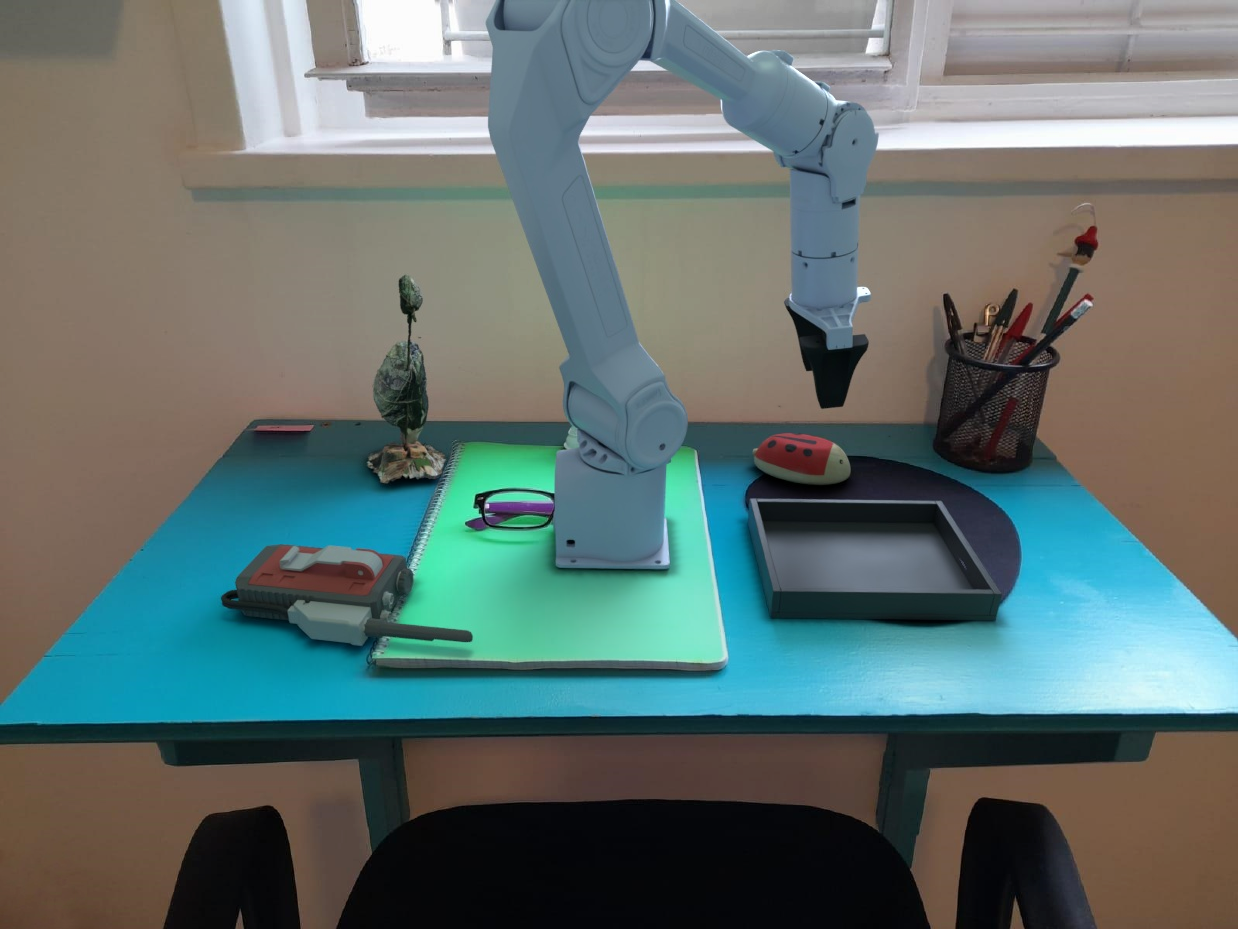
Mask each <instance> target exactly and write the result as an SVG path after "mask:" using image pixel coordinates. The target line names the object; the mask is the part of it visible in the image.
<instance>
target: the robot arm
mask: <svg viewBox="0 0 1238 929" xmlns="http://www.w3.org/2000/svg"><path fill="white" fill-rule="evenodd" d="M485 27H486V30H487V34H488V36H489V39H490V42H491V47H492V54H491V55H492V56H491V70H490V84H489V98H488V111H487V112H488V113H487V129H488V134H489V138H490V142H491V144H492V147H493V150H494V152H495V155H496V158H497V161H498V164H499V167H500V169H501V173H502V175H503V177H504V180H505V183H506V185H507V188H508V191H509V193H510V197H511V198H512V202H513V205H514V207H515V210H516V213H517V215H518V219H519V221H520V224H521V226H522V230H523V232H524V235H525V238H526V240H527V243H528V246H529V249H530V252H531V255H532V257H533V260H534V262H535V265H536V268H537V271H538V273H539V276H540V279H541V282H542V284H543V287H544V290H545V293H546V295H547V298H548V301H549V304H550V306H551V309H552V312H553V314H554V318H555V321H556V324H557V326H558V328H559V332H560V335H561V337H562V339H563V340H562V341H563V342H564V345H565V348H566V350H567V354H568V355H567V356H566V357H565V358H564V359H563V361H561V363H560V365H559V367H558V368H559V371H560V374H561V377H562V381H563V393H562V394H563V395H562V408H563V414H564V416H565V418H566V419H567V421H568V423H569V422H570V423H571V424H572V425H573V426H574V427H576V428H577V442H578V443H579V447H577V448H572V449H566V448H565V449H559V450H557V451H556V454H555V464H554V492H553V493H554V494H553V495H554V497H553V498H554V511H553V516H552V517H553V518H552V523H553V524H552V528H553V529H552V530H553V532H554V534H555V535H554V536H555V566H556V567H557V568H559V569H610V570H611V569H613V570H614V569H618V570H621V569H622V570H624V569H625V570H668V569H670V566H671V558H670V545H669V532H668V518H666V517H665V516H666V493H667V492H666V490H667V485H666V484H667V467H668V466H667V465H669V464H670V463H672V458H673V457H675V455H676V454H677V453H678V451H680V448H681V447H682V445H683V443H684V441H685V438H686V435H687V433H688V426H689V416H688V411H687V409H686V405H685V404H684V403H683V401H682V400H681V399H680V398H678V397H677V395H675V394H674V393H673V392H672V391H671V389H670V387H669V384H668V380H667V378H666V375H665V373H664V372H663V370H662V369H661V368H660V367H659V365H658V364H657V362H656V361H655V360H654V359H653V358H652V357H651V355H650V354H649V353H648V352H647V350H645V348H644V347H643V346H642V344H641V342H640V341H639V337H638V334H637V331H636V328H635V323H634V321H633V317H632V315H631V314H632V313H631V310H630V307H629V304H628V301H627V298H626V294H625V291H624V287H623V285H622V284H623V283H622V281H621V278H620V275H619V271H618V267H617V264H616V261H615V258H614V254H613V251H612V248H611V245H610V242H609V238H608V234H607V232H606V228H605V225H604V222H603V218H602V215H601V212H600V208H599V204H598V201H597V198H596V195H595V191H594V189H593V188H594V187H593V185H592V182H591V178H590V174H589V172H588V168H587V165H586V161H585V159H584V158H585V157H584V156H583V152H582V149H581V145H580V136H581V134H582V132H583V130H584V129H585V126H586V125H587V123H588V121H589V119H590V118H591V116H592V115H593V114H594V112H595V111H597V109H598V108H599V107H600V106H601V105H602V104H603V102H604V101H605V100H606V99H607V98H608V96H610V94H612V92H613V91H614V90H615V89H616V88H617V86H618V85H619V84H621V82H622V81H623V80H624V79H625V78H626V77H627V75H628V74H630V72H631V71H632V70H633V69H634V67H635V66H636V65H637V64H638V63H639V61H645V62H651V63H653V64H654V65H656V66H658V67H660V68H662V69H664V70H665V71H667V72H669V73H671V74H672V75H675V76H677V77H678V78H680V79H682V80H683V81H686V82H687V83H689V84H692V85H693V86H695V87H696V88H699V89H700V90H703V91H704V92H706V93H707V94H709V95H712V96H714V97H715V98H717V99H719V100H720V108H721V114H722V117H723V119H724V121H725V123H726V124H727V125H729V126H730V127H732V128H733V129H735V130H737V131H738V132H740V133H742V134H743V135H745V136H746V137H748V138H750V139H752V140H754V141H755V142H756V143H759V144H760V145H762V146H763V147H765V148H767V149H768V150H770V151H772V152H773V156H774V158H775V161H776V162H777V164H778V165H779V167H780V168H787V169H789V221H790V223H789V224H790V226H789V227H790V287H791V288H790V289H791V291H790V294H789V297H787V298H785V299H784V300H783V304H784V306H785V309H786V310H787V312H788V314H789V316H790V318H791V319H792V322H793V325H794V327H795V331H796V336H797V341H798V345H799V351H800V356H801V359H802V363H803V367H804V369H805V371H806V372H812V376H813V381H814V382H813V384H814V389H815V395H816V399H817V401H818V405H819V407H820V409H822V410H824V409H833V408H834V409H835V408H842V407H844V405H845V402H846V400H847V396H848V394H849V393H848V392H849V390H850V386H851V382H852V378H853V375H854V373H855V370H856V368H857V366H858V364H859V362H860V361H861V359H862V357H863V356H864V355H865V354H866V352H867V351H868V348H869V343H870V341H869V339H868V336H867V335H866V333H862V334H854V325H853V321H854V318H855V316H856V313H857V310H858V307H859V305H860V304H862V303H868V302H870V301H872V300H871V299H872V298H871V297H872V293H871V291H870V289H869V288H868V287H867V286H858V275H859V242H860V240H859V239H860V236H859V235H860V206H861V205H860V203H861V196H862V195H863V194H864V191H865V188H866V187H867V175H868V170H869V167H870V164H871V163H872V160H873V159H874V157H875V155H876V151H877V147H878V143H879V136H880V135H879V134H880V133H879V132H877V131H876V130H875V129H876V128H875V124H874V122H873V119H872V116H870V115H869V113H868V112H867V110H866V108H864V106H863V105H861V104H860V103H858V102H853V101H845V100H836V98H835V96H833V94H832V93H830V91H831V86H830V85H829V84H827V83H826V82H824V81H820V80H811V79H810V78H809V77H807V76H806V75H805V74H803V73H802V72H800V71H799V70H798V69H797V68H794V67H793V63H794V61H795V58H794V56H793V55H792V54H790V53H789V52H787V51H786V50H780V49H779V50H777V49H772V50H770V51H768V50H760V51H759V50H758V51H755V52H753V53H751V54H749V55H746V54H745V53H743V52H742V51H741V50H739V49H738V48H736V46H734V45H733V44H732V43H731V42H729V41H728V40H727V39H726V38H724V37H723V36H722V35H721V34H719V33H718V31H715V30H714V29H713V28H712V27H711V26H709V25H708V24H706V23H705V22H704V21H703V20H702V19H701V18H699V17H698V16H696V15H695V14H694V13H693V12H692V11H690V10H689V9H688V8H686V7H685V6H684V5H683V4H682V3H680V1H677V0H495V1H494V3H493V5H492V7H491V10H489V14H488V15H487V18H486V20H485ZM570 423H569V424H570ZM571 424H570V425H571ZM572 425H571V426H572Z"/></svg>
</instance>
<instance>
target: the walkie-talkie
mask: <svg viewBox="0 0 1238 929" xmlns="http://www.w3.org/2000/svg"><path fill="white" fill-rule="evenodd" d="M234 584H235V589H230V590H228V591H226V592H224V593H223V594H222V595H221V597H220V601H221V605H222V607H224V608H226V609H229V610H237V611H241V612H242V613H243V615H244V617H253V618H263V619H272V620H281V621H288V622H289V624H296V625H297V626H298V628H299V629H301V631H303V632H304V633H305V634H306V635H307V636H308V637H309V638H310V639H311V640H319V641H326V642H336V643H346V644H351V645H352V646H358V647H359V646H360V647H363V645H364V644H365V642H366V641H367V640H368V638H379V639H382V638H383V637H386V638H387V637H388V638H396V639H406V640H416V641H424V642H425V641H426V642H434V640H438V641H447V642H455V643H456V642H458V643H472V642H473V639H474V635H473V633H472V631H470V630H467V629H458V628H457V629H456V628H449V627H448V628H447V627H438V626H428V625H419V624H418V625H417V624H407V623H400V622H399V623H398V622H391V621H392V610H393V609H394V607H395V605H396V604H397V602H398V601H399V599H400V598H401V596H408V595H409V594H410V593H411V592H412V590H413V586H414V572H413V571H412V569H411V568H408V566H407V557H406V556H404V555H402V554H391V553H382V552H381V553H380V552H378V551H376V550H374V549H370V548H360V547H357V548H356V549H353V548H352V547H350V546H349V547H348V546H338V545H330V544H329V545H327V546H325V547H315V546H304V545H294V544H283V543H278V544H270V545H266V546H264V548H262V550H261V551H260V552H259V553H258V554H257V555H256V556H255V557H254V558H253V559H252V560H251V561H250V562H249V564H247V566H246V567H245V568H243V570H242V571H241V572H240V573H239V574H238V575H237V577H236V578H235V581H234Z"/></svg>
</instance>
